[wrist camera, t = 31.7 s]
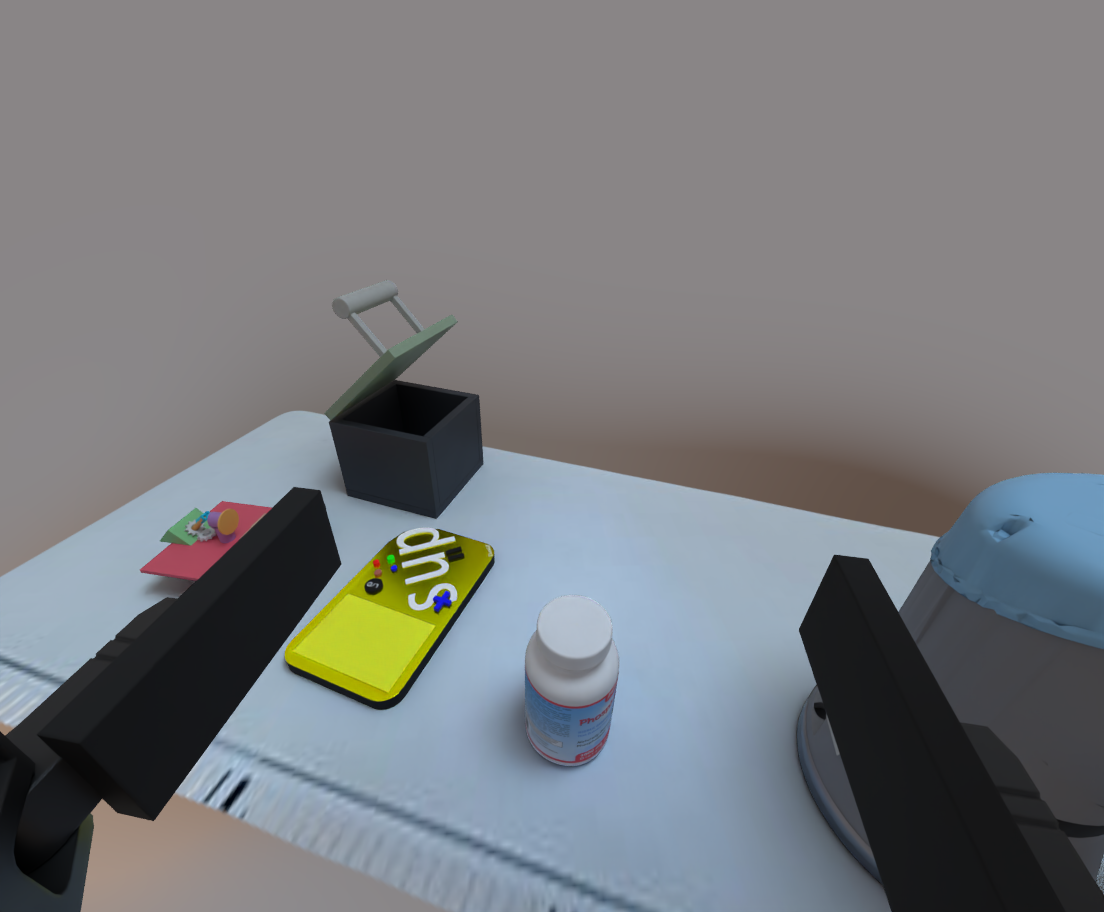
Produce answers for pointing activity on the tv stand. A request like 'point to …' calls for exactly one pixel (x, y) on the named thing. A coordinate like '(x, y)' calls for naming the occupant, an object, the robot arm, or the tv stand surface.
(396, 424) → the black box
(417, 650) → the game console
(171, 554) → the toy car
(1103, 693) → the robot arm
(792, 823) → the tv stand surface
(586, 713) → the pill bottle
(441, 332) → the box lid
